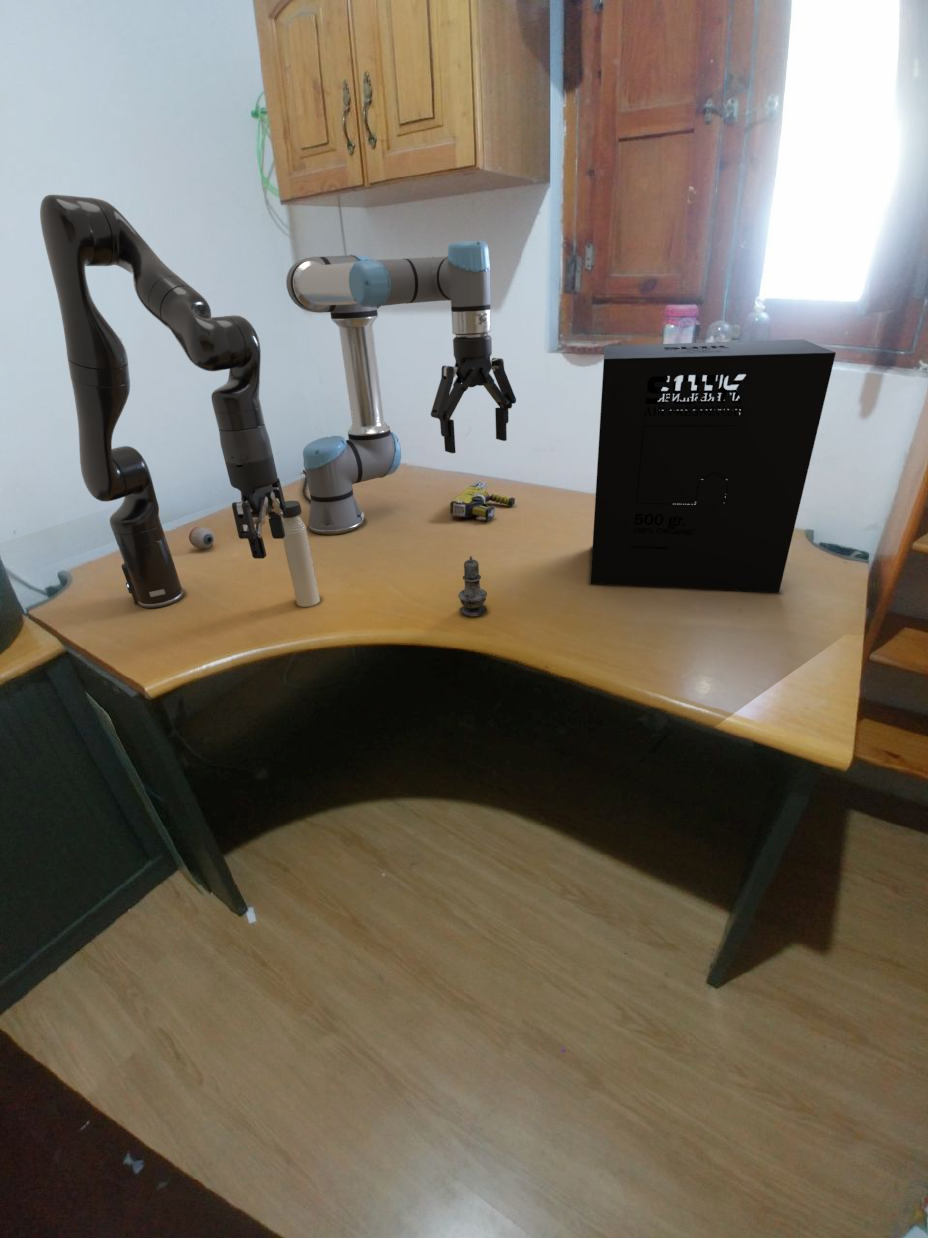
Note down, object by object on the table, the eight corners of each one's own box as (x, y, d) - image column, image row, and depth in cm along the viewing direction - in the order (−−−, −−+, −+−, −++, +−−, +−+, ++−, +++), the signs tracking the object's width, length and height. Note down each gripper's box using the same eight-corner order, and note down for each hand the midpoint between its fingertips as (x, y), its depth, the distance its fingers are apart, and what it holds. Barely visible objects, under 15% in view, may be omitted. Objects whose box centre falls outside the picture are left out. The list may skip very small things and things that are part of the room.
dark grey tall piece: (485, 617, 120) (483, 562, 114) (456, 616, 121) (452, 561, 115) (490, 603, 125) (488, 550, 119) (462, 602, 126) (459, 549, 120)
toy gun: (523, 485, 181) (476, 478, 185) (501, 509, 161) (448, 500, 165) (521, 500, 184) (475, 493, 187) (499, 525, 163) (447, 517, 167)
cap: (297, 508, 123) (295, 498, 122) (305, 514, 120) (303, 504, 119) (276, 513, 121) (273, 503, 120) (283, 519, 118) (281, 509, 117)
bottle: (314, 594, 133) (296, 500, 122) (323, 602, 130) (305, 506, 119) (293, 600, 131) (272, 505, 120) (301, 609, 127) (281, 512, 116)
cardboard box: (758, 552, 140) (802, 339, 117) (778, 592, 123) (835, 352, 100) (592, 546, 147) (604, 345, 125) (590, 583, 130) (603, 358, 108)
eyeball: (203, 554, 156) (196, 532, 153) (187, 550, 159) (181, 528, 156) (222, 546, 160) (216, 524, 157) (206, 542, 163) (200, 521, 160)
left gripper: (245, 444, 104) (265, 532, 112) (205, 467, 92) (231, 564, 100) (286, 443, 103) (304, 532, 111) (251, 466, 91) (274, 565, 99)
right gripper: (429, 342, 108) (437, 460, 118) (533, 329, 120) (532, 437, 131) (407, 340, 113) (417, 454, 124) (508, 328, 125) (510, 432, 136)
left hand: (269, 547), depth 105 cm, fingers open, 8 cm apart
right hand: (476, 445), depth 127 cm, fingers open, 13 cm apart
